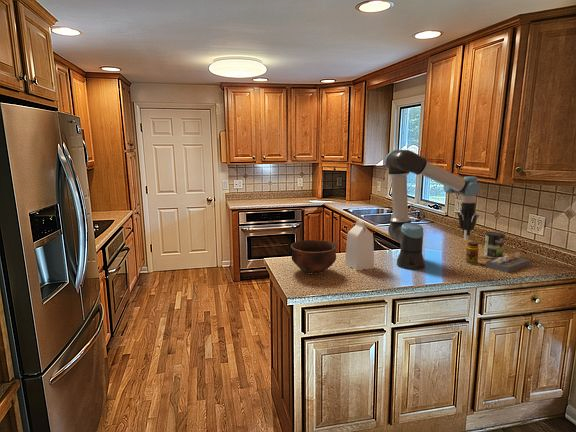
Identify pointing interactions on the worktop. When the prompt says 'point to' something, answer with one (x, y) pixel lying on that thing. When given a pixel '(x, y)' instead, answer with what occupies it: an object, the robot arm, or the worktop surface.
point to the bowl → (313, 255)
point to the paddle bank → (508, 258)
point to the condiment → (472, 254)
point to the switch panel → (508, 264)
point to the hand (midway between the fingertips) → (465, 240)
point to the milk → (360, 247)
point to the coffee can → (494, 244)
